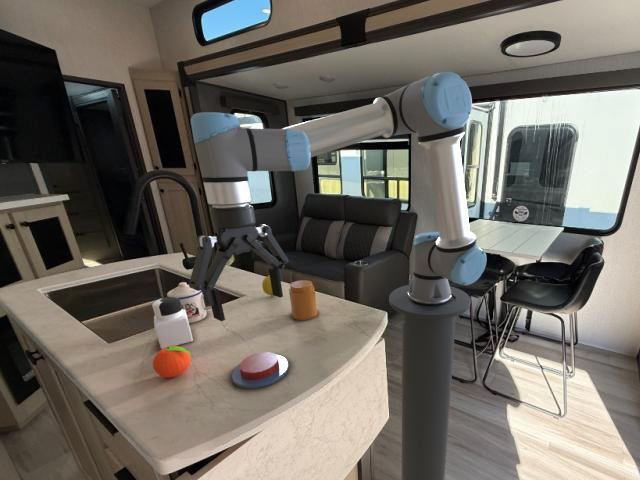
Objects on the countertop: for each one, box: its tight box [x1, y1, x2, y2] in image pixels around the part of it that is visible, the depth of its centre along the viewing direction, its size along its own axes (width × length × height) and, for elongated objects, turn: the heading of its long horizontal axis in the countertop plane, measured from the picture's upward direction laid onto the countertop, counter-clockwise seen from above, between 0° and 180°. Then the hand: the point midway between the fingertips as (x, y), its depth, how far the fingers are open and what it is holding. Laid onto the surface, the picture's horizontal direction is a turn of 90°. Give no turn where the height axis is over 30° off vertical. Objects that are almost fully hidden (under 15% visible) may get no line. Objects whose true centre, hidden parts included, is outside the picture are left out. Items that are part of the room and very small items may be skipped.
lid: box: [239, 351, 279, 380], centre depth 73 cm, size 8×8×2 cm
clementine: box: [152, 345, 192, 378], centre depth 71 cm, size 8×7×7 cm
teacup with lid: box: [166, 281, 212, 324], centre depth 98 cm, size 12×9×12 cm
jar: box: [288, 279, 318, 321], centre depth 100 cm, size 8×8×11 cm
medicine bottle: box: [151, 296, 194, 350], centre depth 85 cm, size 7×7×12 cm
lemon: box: [261, 275, 274, 297], centre depth 115 cm, size 6×6×8 cm
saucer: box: [231, 354, 289, 390], centre depth 73 cm, size 12×12×1 cm
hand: (251, 306), depth 68 cm, fingers open, 13 cm apart
